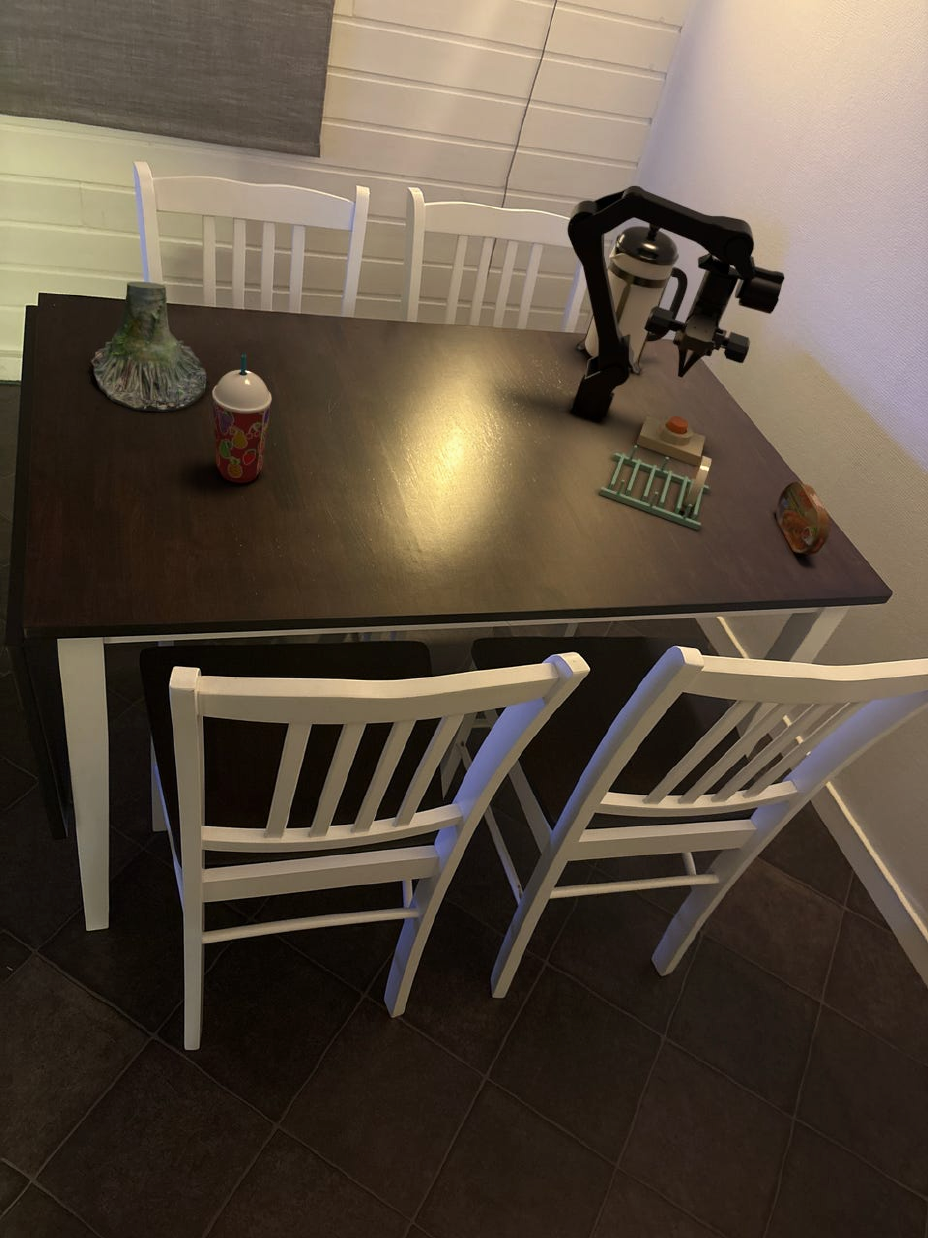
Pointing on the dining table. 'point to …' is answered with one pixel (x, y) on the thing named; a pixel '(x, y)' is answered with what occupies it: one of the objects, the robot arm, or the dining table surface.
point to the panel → (671, 441)
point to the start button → (677, 425)
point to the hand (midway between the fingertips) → (680, 376)
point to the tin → (802, 518)
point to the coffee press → (640, 285)
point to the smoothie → (240, 423)
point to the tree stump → (148, 357)
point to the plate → (696, 483)
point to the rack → (649, 507)
